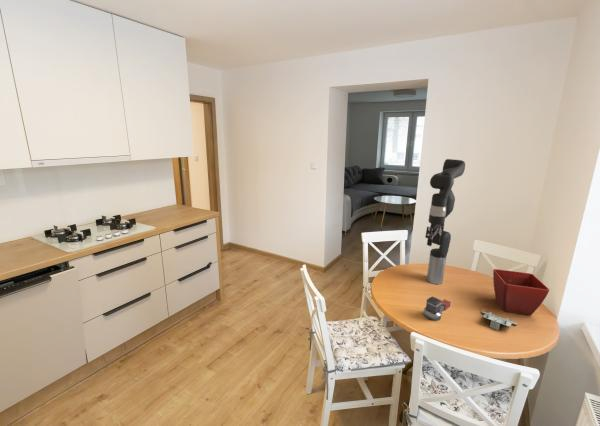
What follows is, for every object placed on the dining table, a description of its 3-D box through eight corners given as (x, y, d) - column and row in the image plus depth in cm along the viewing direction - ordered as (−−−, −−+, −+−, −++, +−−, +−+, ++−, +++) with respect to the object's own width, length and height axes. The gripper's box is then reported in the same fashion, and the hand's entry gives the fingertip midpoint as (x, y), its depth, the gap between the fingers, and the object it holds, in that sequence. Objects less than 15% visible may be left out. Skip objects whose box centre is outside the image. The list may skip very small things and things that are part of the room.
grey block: (430, 306, 153) (432, 296, 151) (440, 311, 149) (441, 300, 147) (425, 310, 150) (426, 299, 148) (435, 314, 146) (436, 304, 144)
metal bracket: (515, 324, 135) (478, 311, 145) (512, 337, 135) (475, 323, 145) (518, 319, 146) (483, 307, 156) (515, 331, 146) (481, 318, 156)
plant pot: (526, 300, 166) (532, 273, 162) (542, 320, 148) (550, 290, 144) (487, 295, 171) (492, 268, 167) (499, 313, 153) (505, 284, 149)
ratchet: (439, 302, 163) (441, 292, 161) (454, 308, 157) (456, 298, 155) (420, 315, 150) (421, 304, 149) (435, 322, 145) (437, 311, 143)
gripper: (437, 210, 160) (433, 239, 164) (423, 214, 151) (419, 244, 155) (451, 213, 154) (446, 242, 158) (437, 217, 145) (433, 248, 149)
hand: (433, 243), depth 156 cm, fingers open, 8 cm apart
